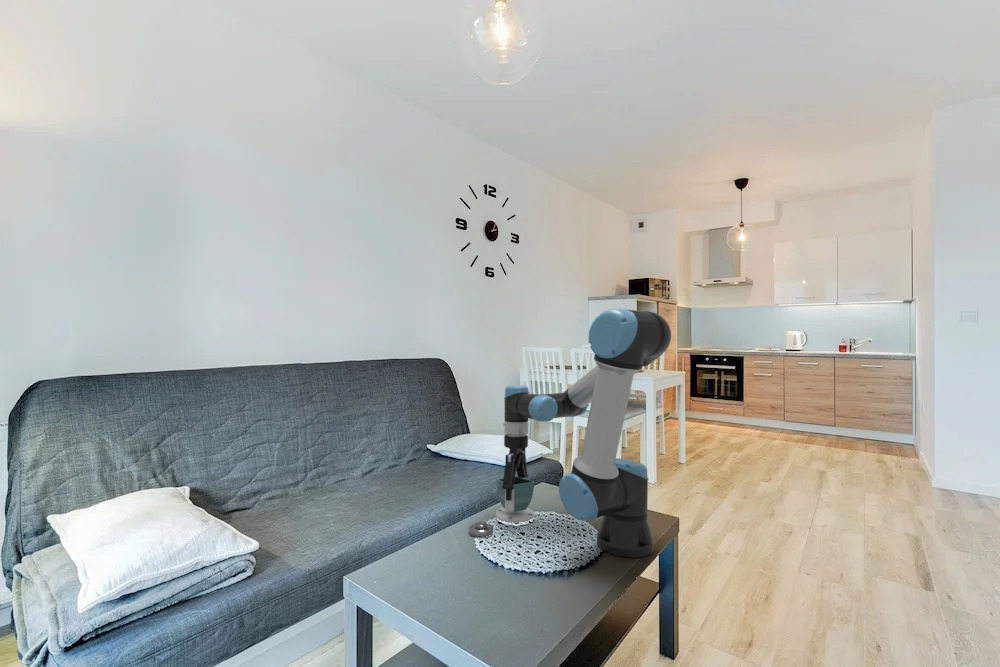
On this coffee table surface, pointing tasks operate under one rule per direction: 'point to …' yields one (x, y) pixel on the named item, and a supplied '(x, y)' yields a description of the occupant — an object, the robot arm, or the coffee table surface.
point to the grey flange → (514, 515)
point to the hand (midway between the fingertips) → (515, 504)
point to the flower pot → (517, 493)
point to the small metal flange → (480, 529)
